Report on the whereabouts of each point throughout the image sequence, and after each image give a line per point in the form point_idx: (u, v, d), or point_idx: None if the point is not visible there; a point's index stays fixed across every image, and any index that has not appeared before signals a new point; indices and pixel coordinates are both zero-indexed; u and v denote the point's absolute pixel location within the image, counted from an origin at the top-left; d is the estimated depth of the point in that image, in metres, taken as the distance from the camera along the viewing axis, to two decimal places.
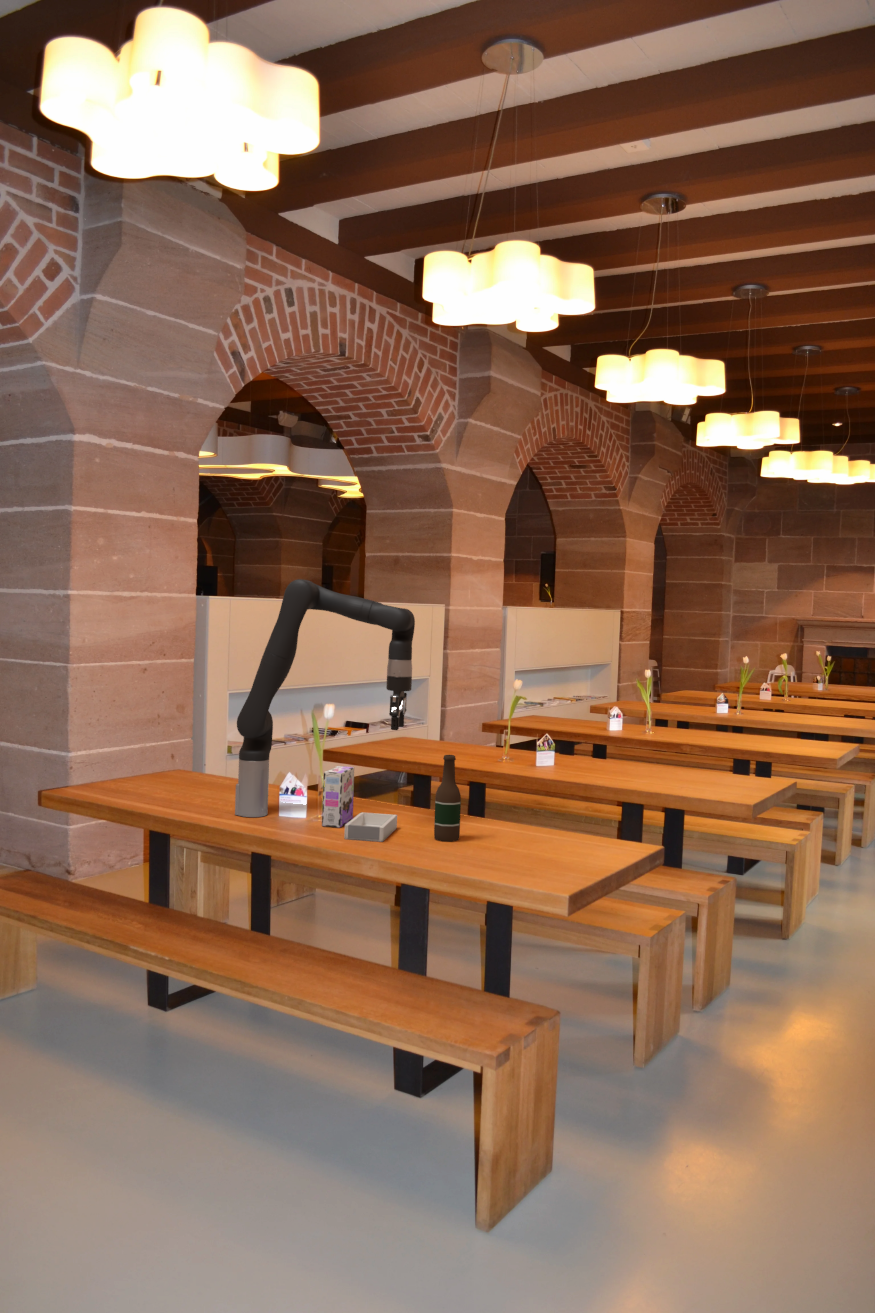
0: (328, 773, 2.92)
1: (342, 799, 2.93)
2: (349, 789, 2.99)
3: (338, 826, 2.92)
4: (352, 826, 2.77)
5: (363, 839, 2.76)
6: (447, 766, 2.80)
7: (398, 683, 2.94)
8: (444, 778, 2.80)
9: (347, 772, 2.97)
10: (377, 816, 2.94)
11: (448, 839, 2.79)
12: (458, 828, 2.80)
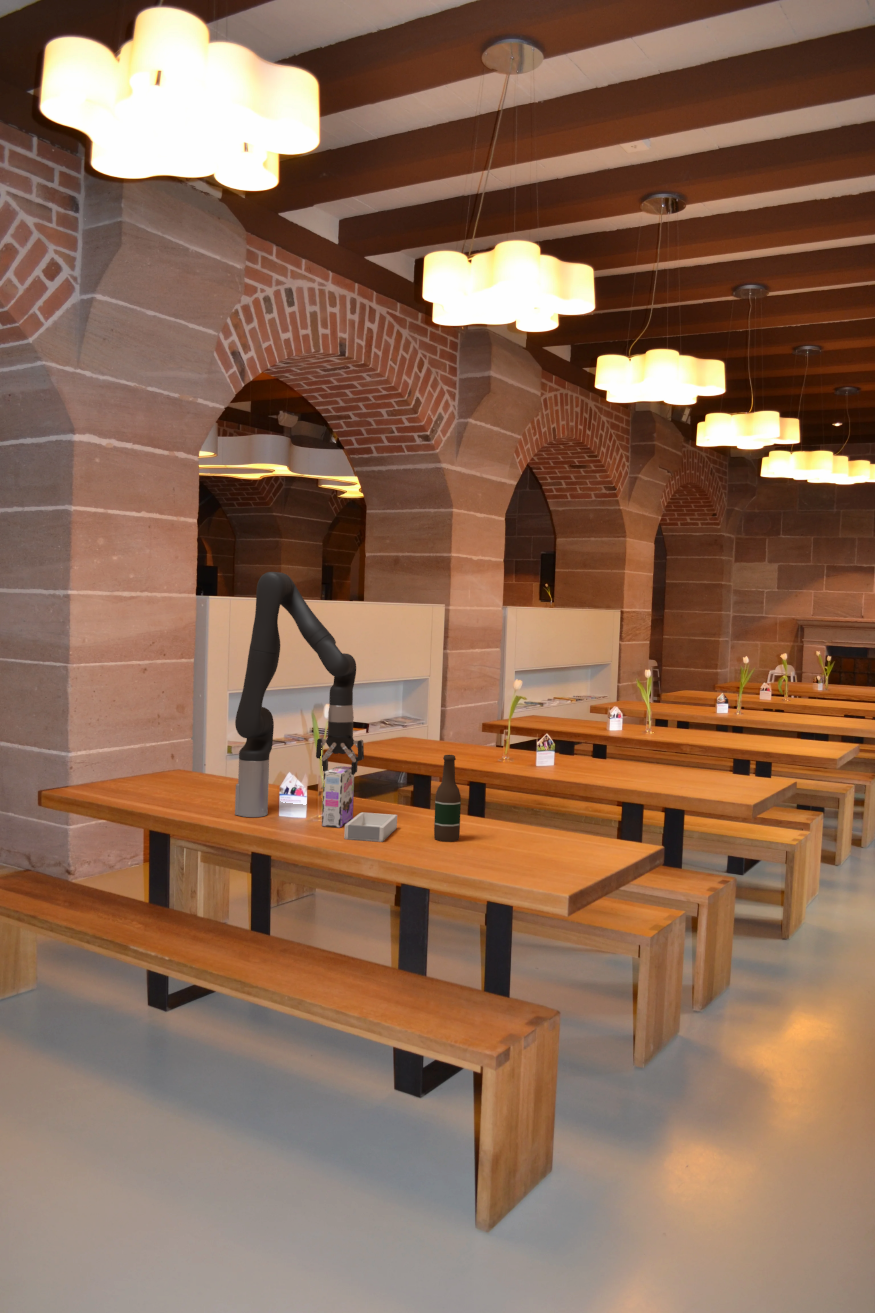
0: (328, 773, 2.92)
1: (342, 799, 2.93)
2: (349, 789, 2.99)
3: (338, 826, 2.92)
4: (352, 826, 2.77)
5: (363, 839, 2.76)
6: (447, 766, 2.80)
7: (352, 728, 2.97)
8: (444, 778, 2.80)
9: (347, 772, 2.97)
10: (377, 816, 2.94)
11: (448, 839, 2.79)
12: (458, 828, 2.80)
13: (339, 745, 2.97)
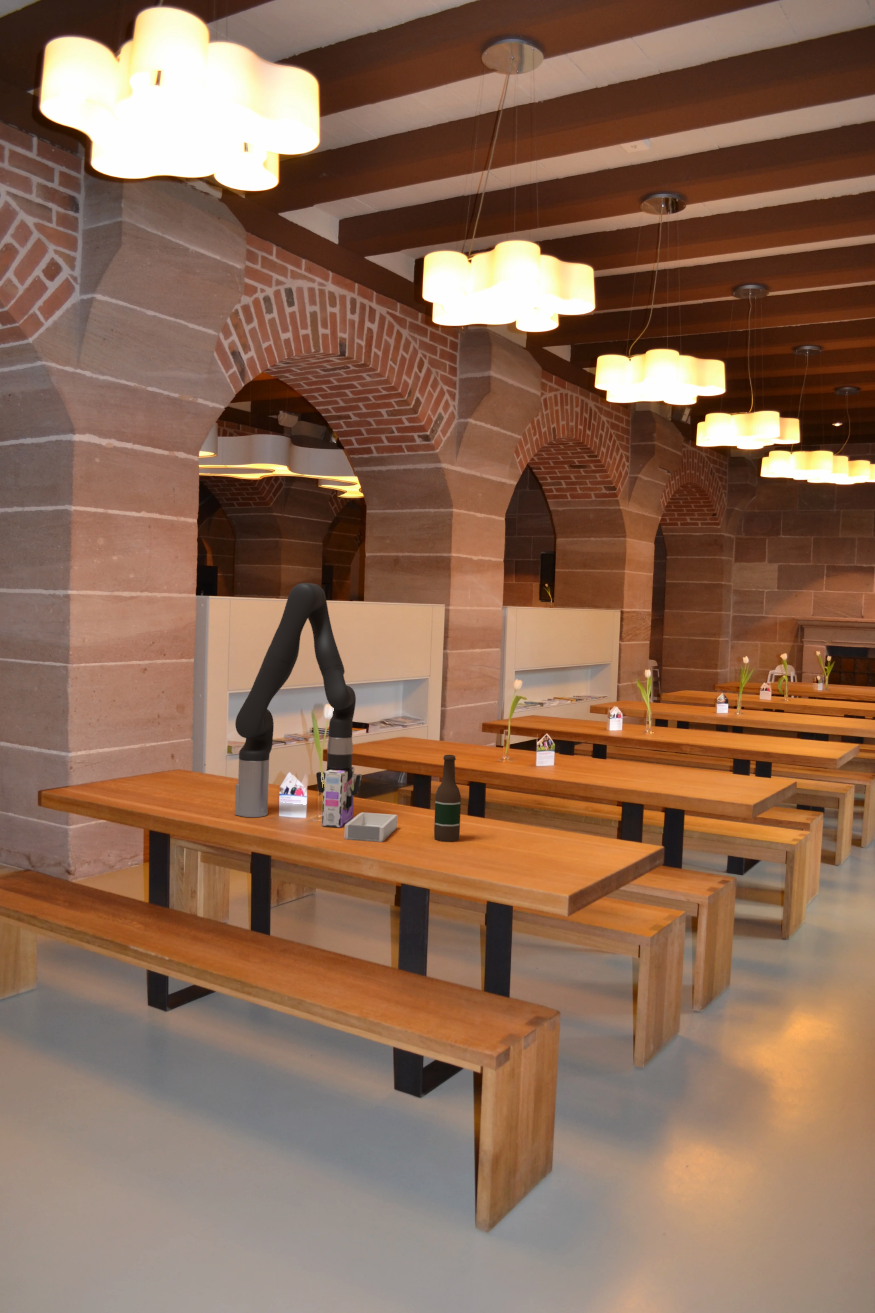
0: (328, 773, 2.92)
1: (342, 799, 2.93)
2: None
3: (338, 826, 2.92)
4: (352, 826, 2.77)
5: (363, 839, 2.76)
6: (447, 766, 2.80)
7: None
8: (444, 778, 2.80)
9: (347, 772, 2.97)
10: (377, 816, 2.94)
11: (448, 839, 2.79)
12: (458, 828, 2.80)
13: None
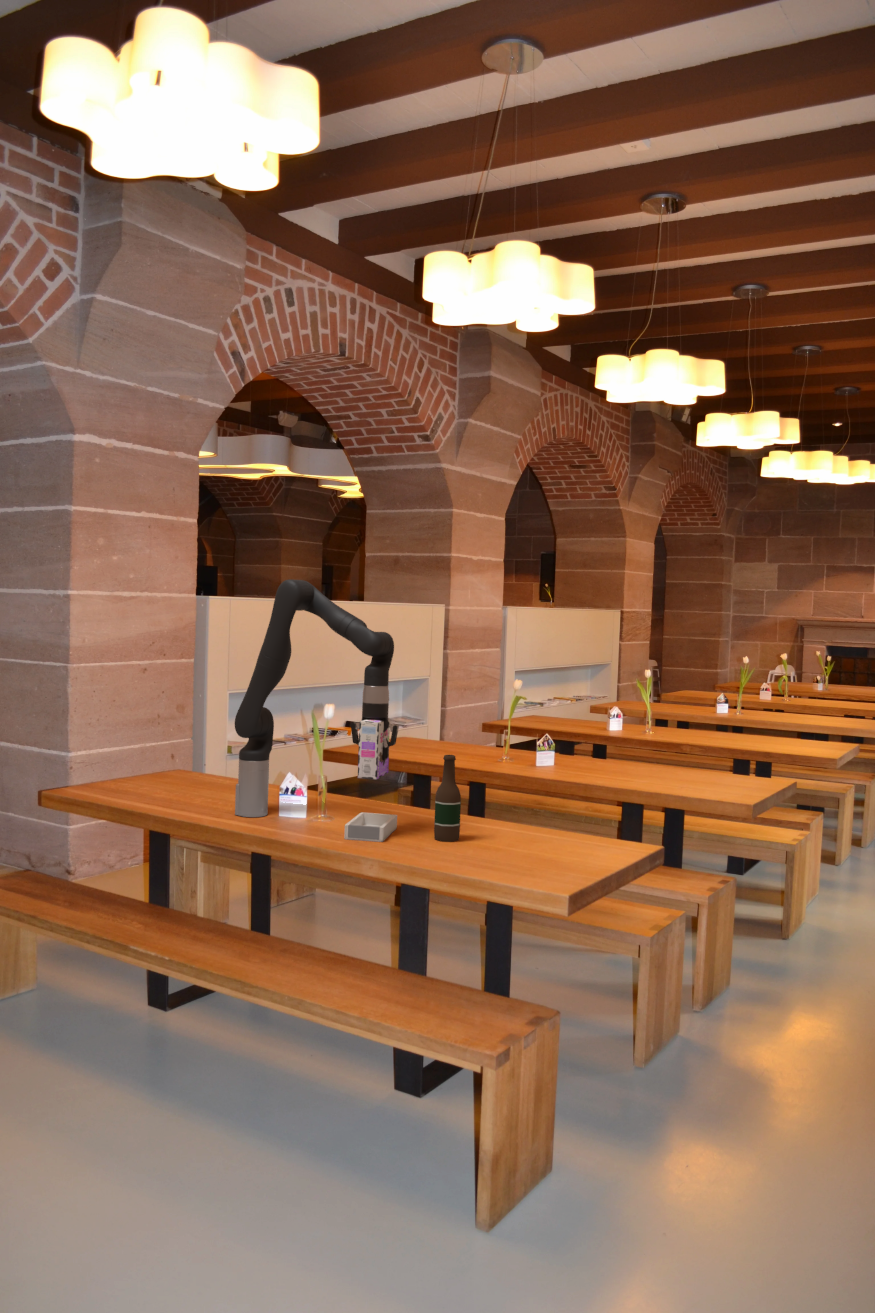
0: (364, 722, 2.78)
1: (379, 750, 2.79)
2: None
3: (375, 778, 2.78)
4: (352, 826, 2.77)
5: (363, 839, 2.76)
6: (447, 766, 2.80)
7: None
8: (444, 778, 2.80)
9: (383, 722, 2.83)
10: (377, 816, 2.94)
11: (448, 839, 2.79)
12: (458, 828, 2.80)
13: None
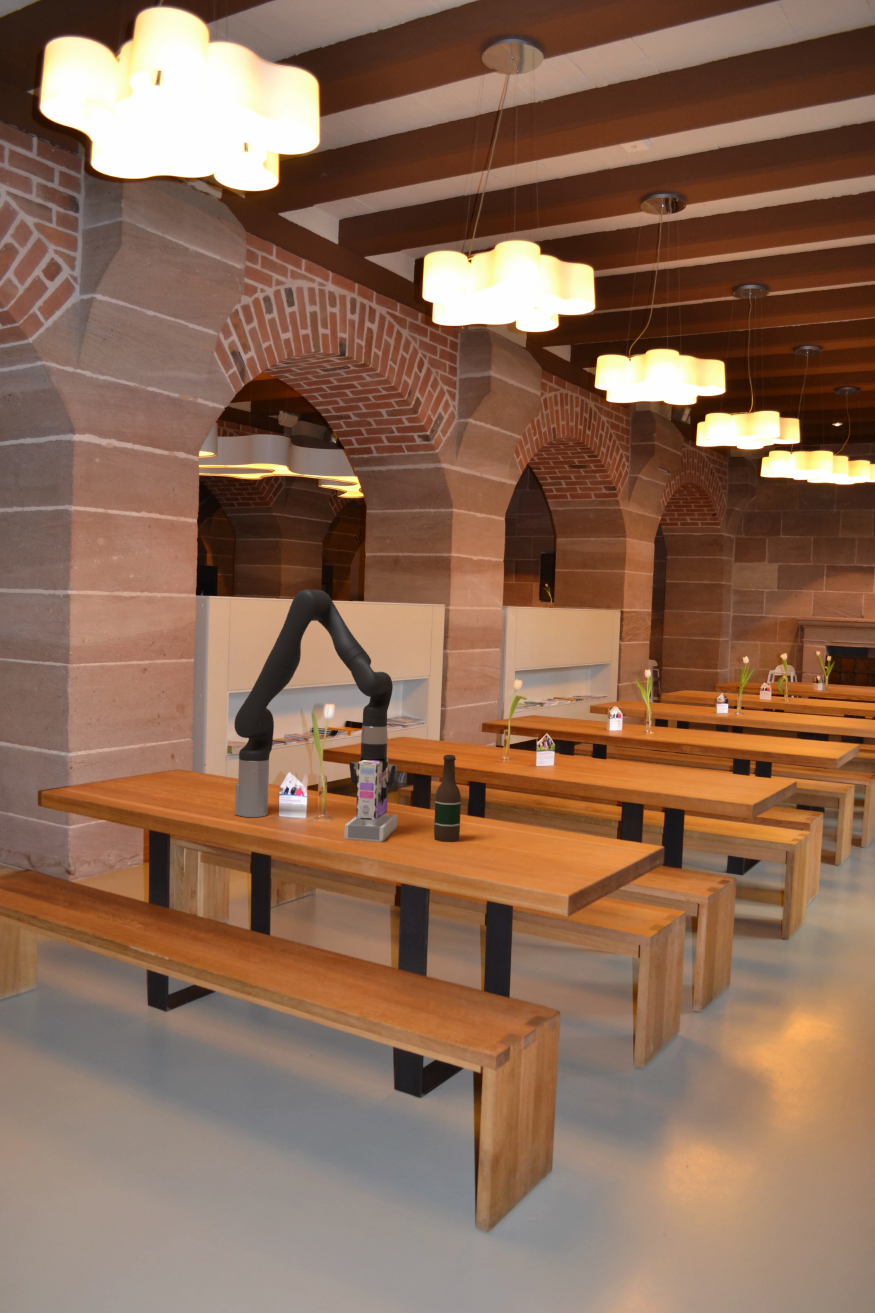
0: (362, 763, 2.79)
1: (377, 790, 2.80)
2: None
3: (373, 819, 2.78)
4: (352, 826, 2.77)
5: (363, 839, 2.76)
6: (447, 766, 2.80)
7: (386, 749, 2.85)
8: (444, 778, 2.80)
9: None
10: None
11: (448, 839, 2.79)
12: (458, 828, 2.80)
13: None
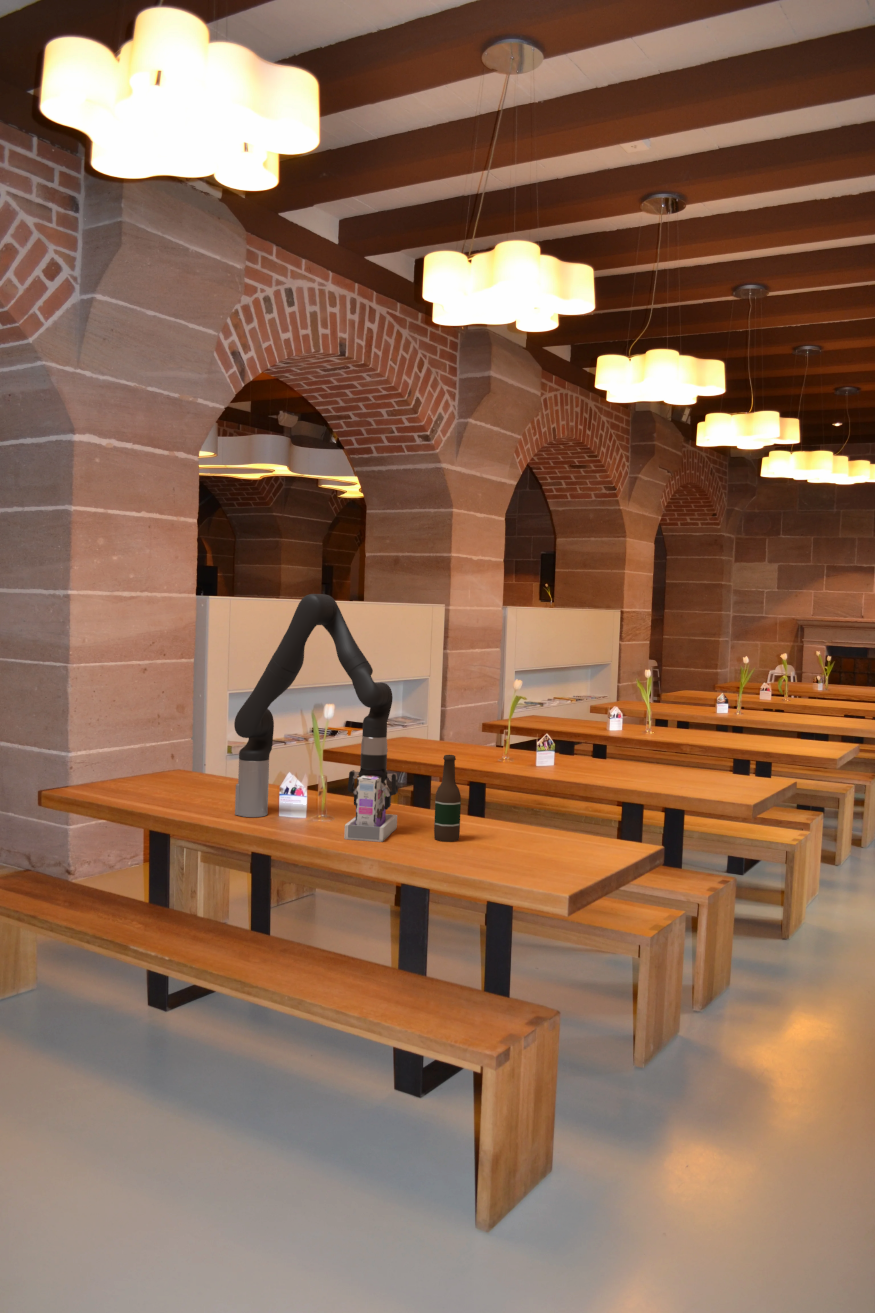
0: (362, 779, 2.79)
1: (376, 806, 2.80)
2: (382, 796, 2.86)
3: None
4: (352, 826, 2.77)
5: (363, 839, 2.76)
6: (447, 766, 2.80)
7: (386, 760, 2.85)
8: (444, 778, 2.80)
9: None
10: None
11: (448, 839, 2.79)
12: (458, 828, 2.80)
13: None
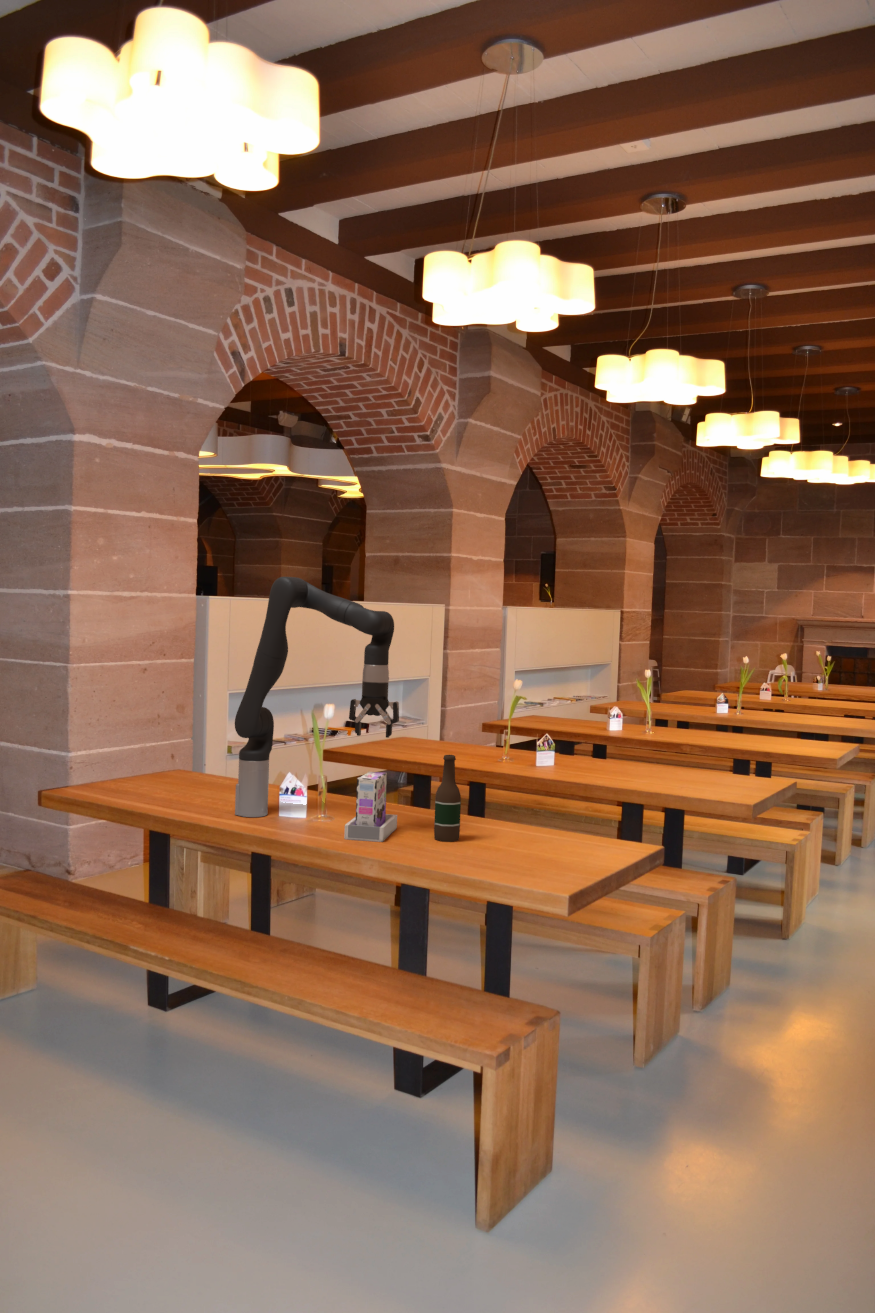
0: (362, 779, 2.79)
1: (376, 806, 2.80)
2: (382, 796, 2.86)
3: None
4: (352, 826, 2.77)
5: (363, 839, 2.76)
6: (447, 766, 2.80)
7: None
8: (444, 778, 2.80)
9: (381, 778, 2.84)
10: None
11: (448, 839, 2.79)
12: (458, 828, 2.80)
13: (373, 707, 2.84)
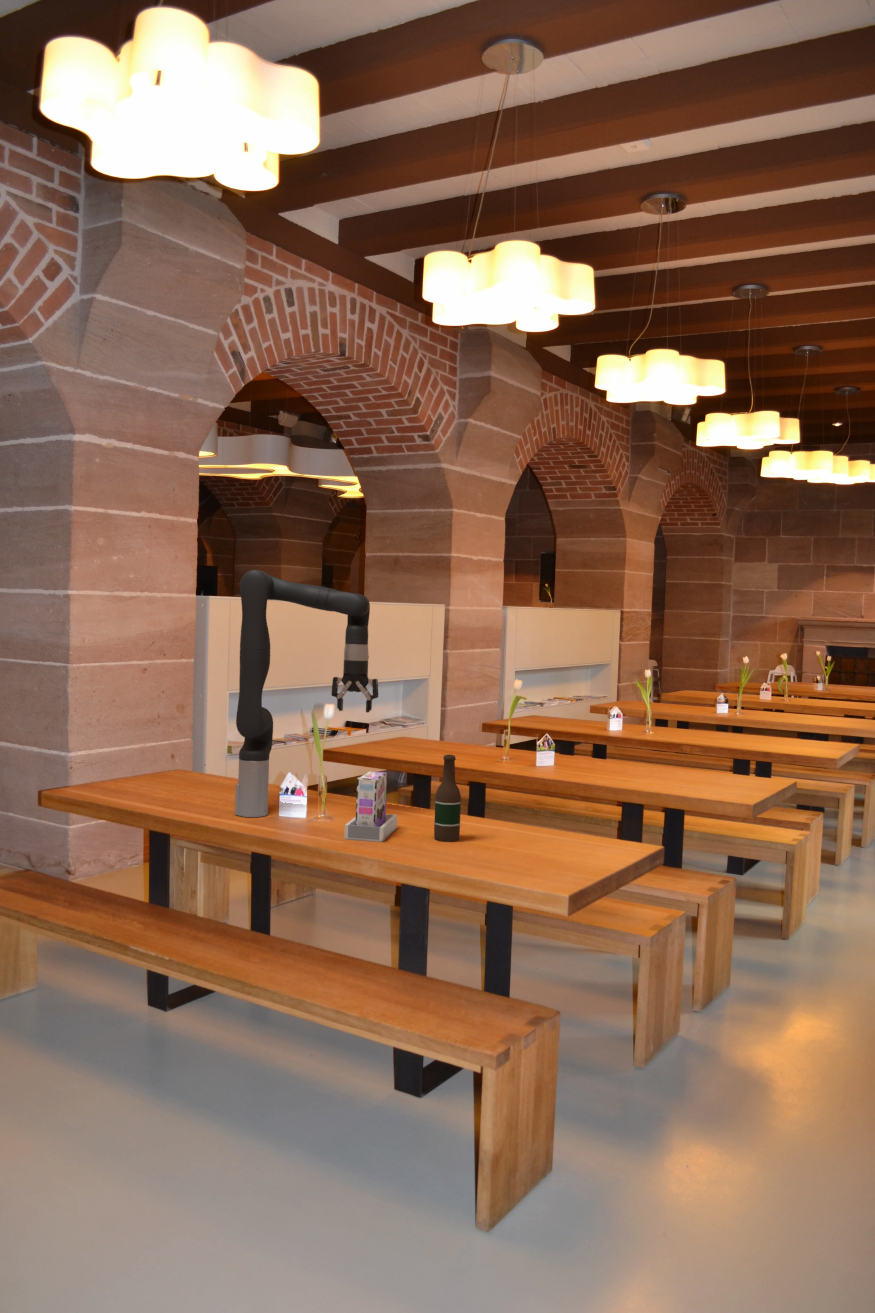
0: (362, 779, 2.79)
1: (376, 806, 2.80)
2: (382, 796, 2.86)
3: None
4: (352, 826, 2.77)
5: (363, 839, 2.76)
6: (447, 766, 2.80)
7: (367, 666, 3.04)
8: (444, 778, 2.80)
9: (381, 778, 2.84)
10: None
11: (448, 839, 2.79)
12: (458, 828, 2.80)
13: (354, 683, 3.04)
